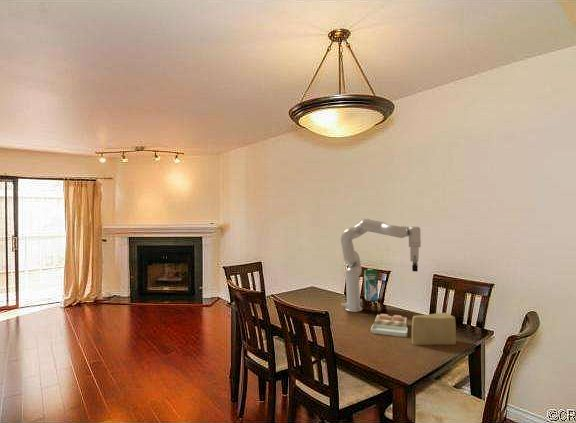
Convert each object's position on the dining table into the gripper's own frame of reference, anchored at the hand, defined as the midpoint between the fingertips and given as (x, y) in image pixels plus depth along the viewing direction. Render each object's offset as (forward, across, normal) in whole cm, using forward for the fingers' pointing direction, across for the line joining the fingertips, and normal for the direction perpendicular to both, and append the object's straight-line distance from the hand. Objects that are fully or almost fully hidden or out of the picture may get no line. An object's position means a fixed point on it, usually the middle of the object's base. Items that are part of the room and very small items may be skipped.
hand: (415, 270), depth 223 cm
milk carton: (+32, -34, -34) cm, 58 cm away
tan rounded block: (+31, +46, +8) cm, 57 cm away
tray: (+31, +37, -14) cm, 51 cm away
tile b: (+27, +26, -10) cm, 39 cm away
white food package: (+31, +26, -14) cm, 43 cm away
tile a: (+27, +26, -18) cm, 41 cm away
